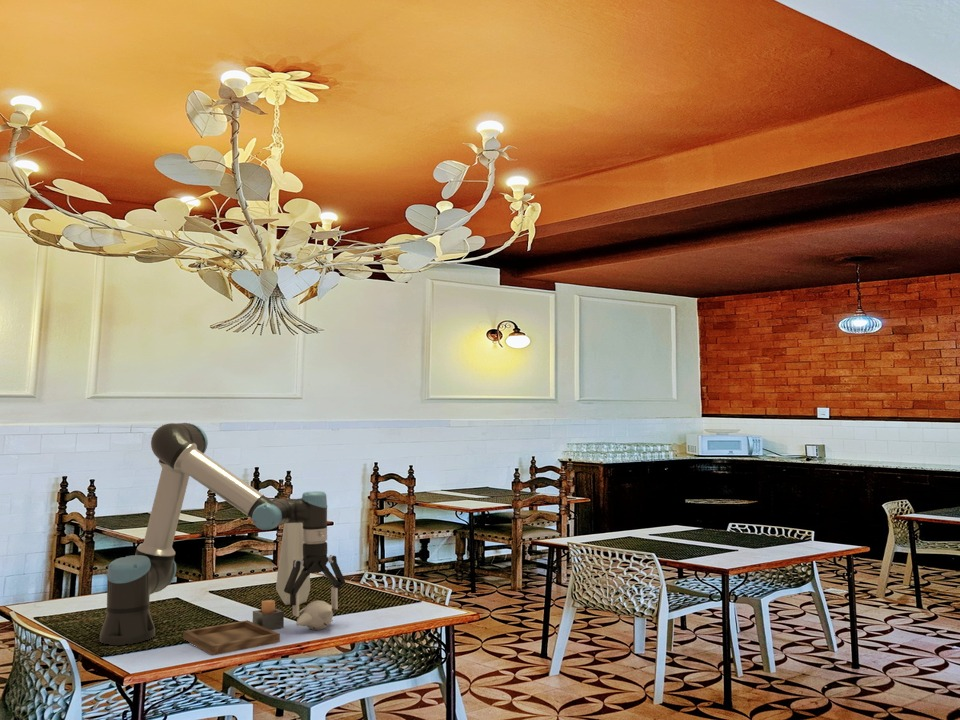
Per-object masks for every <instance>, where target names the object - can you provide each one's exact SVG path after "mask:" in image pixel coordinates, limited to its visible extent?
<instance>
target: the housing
mask: <svg viewBox="0 0 960 720" xmlns="http://www.w3.org/2000/svg"><path fill="white" fill-rule="evenodd" d="M284 621H285V612H284V611H283V610H281V609H278V608H276V607H275V612H272V613H266V614H264V613H262V609H258V610H253V611H252V622H253V623H255V624H258V625H260V626H263V627H265V628H267V629H270V630H272V631H275V630H280V629H284V628H285V625H284V624H285V622H284Z"/></svg>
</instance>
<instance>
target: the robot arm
mask: <svg viewBox="0 0 960 720" xmlns="http://www.w3.org/2000/svg"><path fill="white" fill-rule="evenodd" d="M208 443H209V442H208V437H207V434H206V433H205V431H204V430H203V428H202V427H200V426H199V425H197V424H193V423H190V422H189V423H187V422H180V423H179V422H178V423H174V422H170V423H165V424H163V425H160V427H158V428H157V429H156V430H155V431H154V432H153V434H152V436H151V440H150V448H151V450H152V452H153V455H154V456H155V457H156V458H157V459H158V464H159V465H160V467H161V470H160V471H161V472H160V475H159V479H158V484H157V488H156V492H155V494H154V495H155V497H154V500H153V503H152V507H151V511H150V515H149V519H148V523H147V527H146V532H145V535H144V539H143V542H142V543H140V544H139V545H138V546H136V547H137V548H136V550H135V553H134V554H135V555H134V554H133V555H126V556H125V557H119V558H115V559H114V560H112V561H111V562H110V563H109V564H108V566H107V574H106V579H107V580H106V582H107V585H106V586H107V587H106V589H107V590H106V616H105V617H104V618H105V619H104V621H103V624H102V626H101V630H100V633H99V643H100V642H101V643H100V644H102V643H104V644H103V645H105V644H109V645H108V646H126V645H125V644H128V645H134V644H133V643H136V644H138V643H137V642H141V643H143V642H142V641H145V640H148V641H150V640H152V639H154V638H155V637H154V636H156V628H155V624H154V622H153V618H152V615H151V611H150V599H151V598H150V595H152V594H155V593H158V592H161V591H163V590H164V589H166V587H168V586H169V585H170V584H172V582H173V581H174V578H175V577H176V573H177V563H176V561H175V556H176V551H175V549H174V547H173V545H174V540H175V535H176V532H177V528H178V523H179V520H180V515H181V511H182V507H183V503H184V499H185V495H186V492H187V488H188V483H189V480H190V477H191V478H192V479H193V480H195V481H196V482H198V483H199V484H201V485H202V486H203V487H205V488H206V489H207V490H210V491H211V492H213V493H214V494H215V495H217V496H218V497H220V498H221V499H222V500H224V501H225V502H227V503H228V504H229V505H231V506H232V507H234V508H236V509H237V510H239V511H240V512H241V513H243V514H244V515H245V516H247V517H249V518H250V519H251V520H252V522H253V525H255V527H256V528H257V529H259V530H262V531H268V530H274V529H275V528H278V527H279V526H281V525H284V523H302V524H303V542H305V543H303V560H302V561H297V560H294V561H293V569H292V571H291V574H290V576H289V579H288V581H287V584H286V586H285V589H284V592H286V593H289V594H290V604H291V605H290V606H292V616H293V617H297V618H298V617H299V616H300V614H299V611H300V605H299V594H296V593H297V592H298V590H299V589H300V587H301V586H302V584H303V583H304V581H305V579H306V578H307V576H309V575H311V574H316V573H322V574H324V576H325V578H326V579H328V581H329V582H330V583H331V584H332V586H331V588H330V599H331V601H330V603H331V604H330V605H332V610H338V607H339V601H338V598H340V595H341V589H340V588H342V586H343V585H345V584H346V580H345V578H344V575H343V573H342V571H341V569H340V567H339V564H338V561H337V556H336V555H332V554H330V555H329V556H328V542H326V541H327V540H328V503H327V502H328V501H327V494H326V492H325V491H305V492H302V496H301V497H300V498H273V499H272V498H271V499H270V498H268V497H267V496H265V495H264V494H262V493H261V492H260V491H259V490H257V489H255V487H252V486H251V485H250V484H249V483H247V482H245V481H244V480H242V479H241V478H239V477H238V476H237V475H236V474H234V473H233V472H231V471H229V470H228V469H226V467H224V466H222V465H221V464H220V463H218V462H217V461H215V460H213V459H212V458H210V457H209V456H208V455H206V454H205V452H206V451H207V449H208ZM328 563H329V565H330V568H331V569H332V571H333V574H332V572H331V570H330V569H329V567H328V566H327V564H328ZM302 565H303V566H304V568H303V570H302V571H301V574H300V576H299V577H298V579H297V580H296V578H297V576H298V573H299V571H300V568H301V567H302ZM295 581H296V582H295ZM153 637H154V638H153ZM151 638H152V639H151ZM149 639H150V640H149ZM145 642H146V641H145Z"/></svg>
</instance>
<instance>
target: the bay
mask: <svg viewBox="0 0 960 720" xmlns="http://www.w3.org/2000/svg"><path fill="white" fill-rule="evenodd" d="M183 639H184V640H183ZM182 640H183V641H185V640H186V641H188V642H190V643H191V645H192V644H193V645H192V646H194V645H195V646H194V647H196V646H197V647H196V648H198V649H200V650H202V651H203V652H206V653H207V654H209V655H211V656H216V655H222V654H226V653H231V652H236V651H241V650H246V649H247V650H248V649H252V648H257V647H262V646H267V645H272V644H277V643H281V633H280V632H277V631H275V630H270V629H267V628H265V627H263V626H260V625H258V624H255V623H253V621H250V620H247V619H246V620H241V621H236V622H235V621H234V622H230V623H224V624H223V623H222V624H218V625H212V626H206V627H200V628H196V629H195V628H194V629H189V630H184V631H182ZM186 641H185V642H186ZM188 642H187V643H188ZM190 643H189V644H190Z"/></svg>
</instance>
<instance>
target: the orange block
mask: <svg viewBox="0 0 960 720" xmlns="http://www.w3.org/2000/svg"><path fill="white" fill-rule="evenodd" d="M275 608H276V601H275V600H274V599H268V600H262V601H261V610H262V613H264V614H266V613H272V612H275Z"/></svg>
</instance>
